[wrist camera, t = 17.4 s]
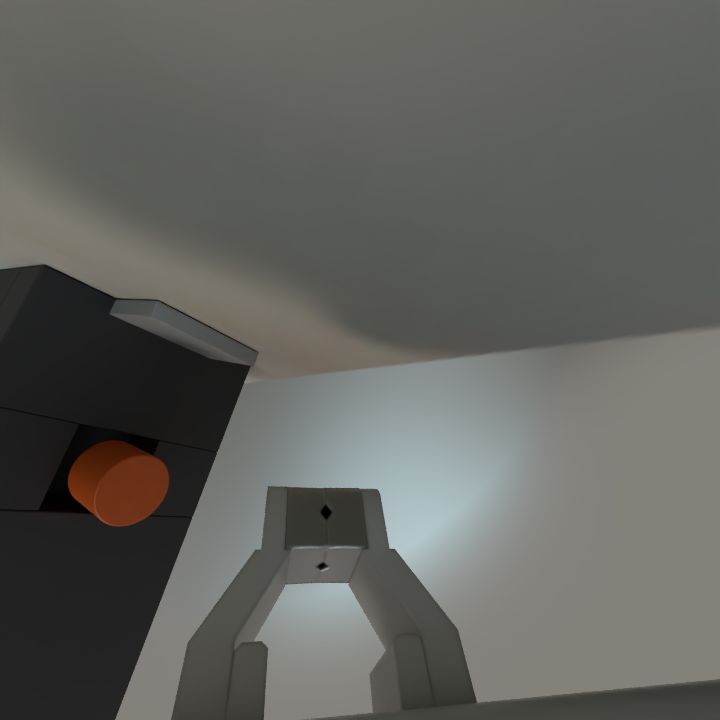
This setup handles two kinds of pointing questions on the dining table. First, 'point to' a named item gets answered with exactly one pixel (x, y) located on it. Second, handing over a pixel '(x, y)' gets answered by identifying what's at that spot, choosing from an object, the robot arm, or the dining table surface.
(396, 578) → the robot arm
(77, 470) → the power button
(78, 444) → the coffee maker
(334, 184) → the dining table surface
